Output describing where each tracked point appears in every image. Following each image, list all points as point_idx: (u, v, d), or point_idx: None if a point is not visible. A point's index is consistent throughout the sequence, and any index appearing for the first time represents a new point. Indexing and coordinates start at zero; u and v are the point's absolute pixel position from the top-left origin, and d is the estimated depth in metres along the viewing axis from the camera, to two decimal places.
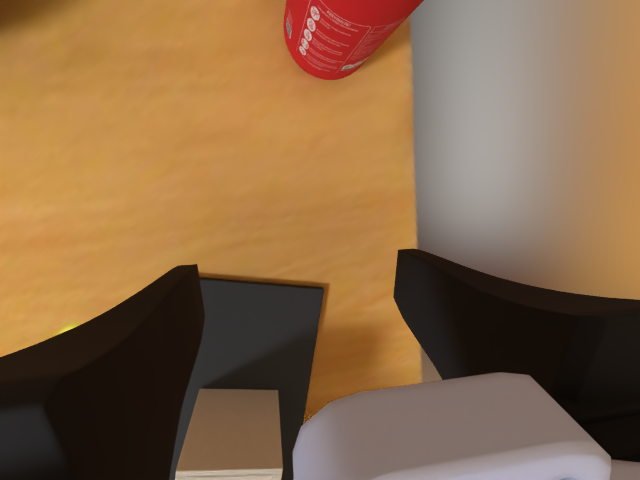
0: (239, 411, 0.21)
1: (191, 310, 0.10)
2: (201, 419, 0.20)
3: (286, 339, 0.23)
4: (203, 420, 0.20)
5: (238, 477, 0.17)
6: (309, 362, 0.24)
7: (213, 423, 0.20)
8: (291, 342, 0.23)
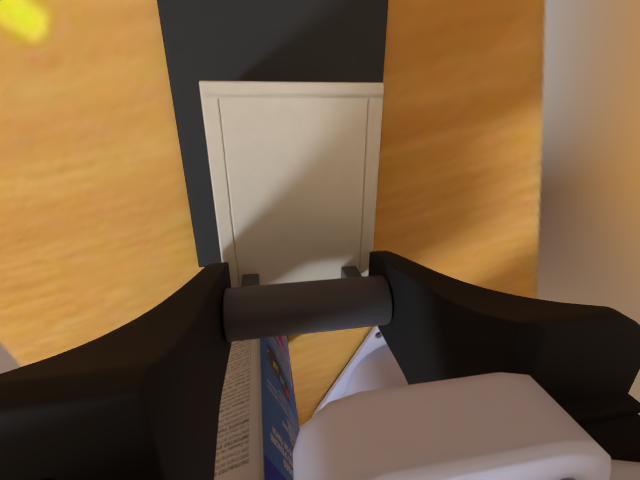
0: None
1: None
2: None
3: None
4: None
5: (310, 101, 0.10)
6: (381, 36, 0.15)
7: None
8: None
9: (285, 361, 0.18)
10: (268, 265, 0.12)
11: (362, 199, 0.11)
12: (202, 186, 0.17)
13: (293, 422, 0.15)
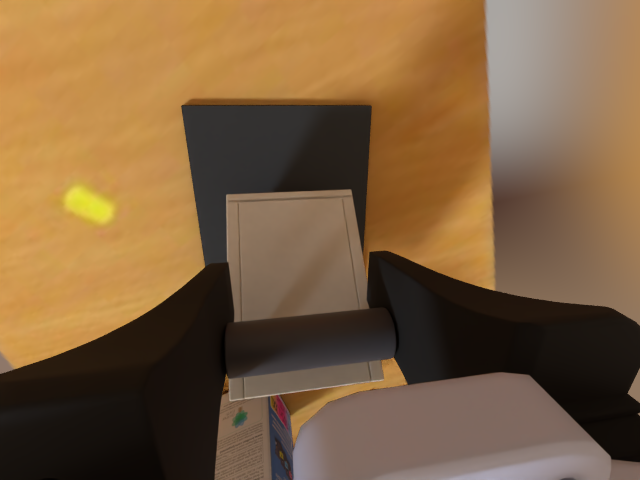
0: None
1: (225, 307, 0.10)
2: None
3: (332, 178, 0.19)
4: None
5: (301, 201, 0.14)
6: (362, 205, 0.20)
7: None
8: (338, 181, 0.19)
9: (288, 440, 0.23)
10: None
11: (352, 267, 0.13)
12: None
13: None
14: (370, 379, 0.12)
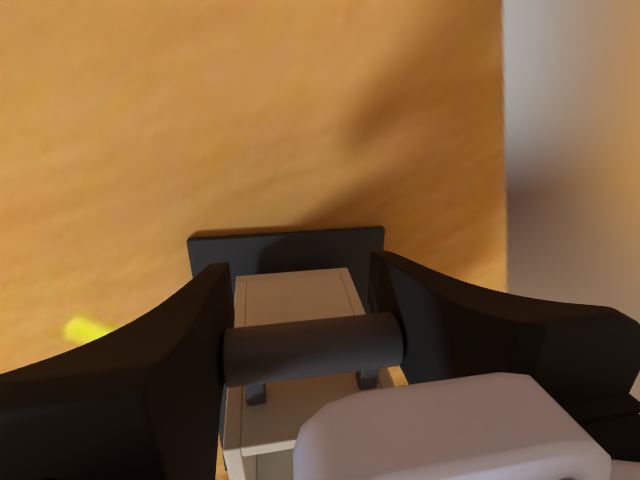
0: None
1: (226, 307, 0.10)
2: None
3: None
4: None
5: (303, 277, 0.16)
6: None
7: None
8: None
9: None
10: None
11: None
12: None
13: None
14: None
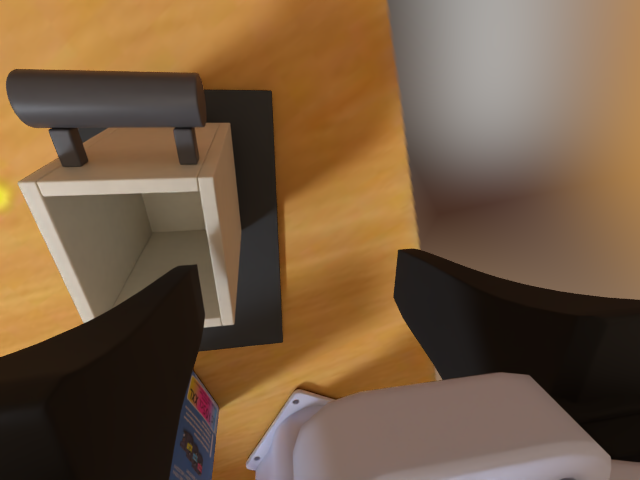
0: None
1: (191, 310, 0.10)
2: None
3: (237, 165, 0.19)
4: None
5: None
6: (272, 193, 0.20)
7: None
8: (244, 168, 0.19)
9: (207, 433, 0.23)
10: (103, 159, 0.11)
11: (211, 141, 0.14)
12: None
13: None
14: (196, 176, 0.10)
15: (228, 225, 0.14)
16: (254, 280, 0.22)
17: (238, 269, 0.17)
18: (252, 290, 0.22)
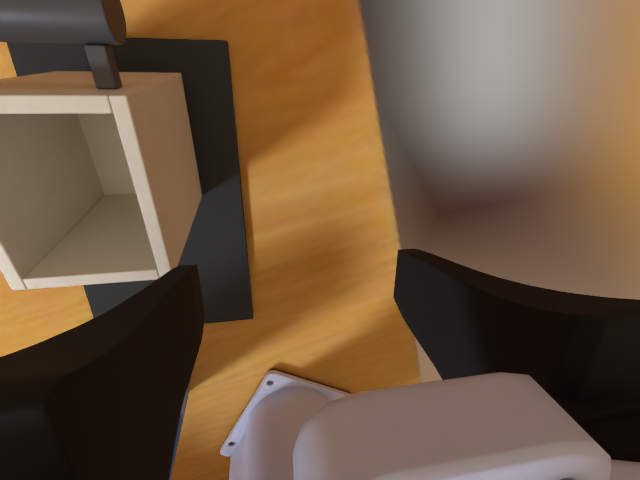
0: None
1: (190, 310, 0.10)
2: None
3: (194, 123, 0.18)
4: None
5: (126, 73, 0.15)
6: (233, 155, 0.19)
7: None
8: (201, 126, 0.18)
9: None
10: (15, 85, 0.10)
11: (148, 80, 0.13)
12: None
13: None
14: (107, 95, 0.09)
15: (166, 169, 0.13)
16: (219, 250, 0.21)
17: (190, 228, 0.16)
18: (217, 262, 0.21)
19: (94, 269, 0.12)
